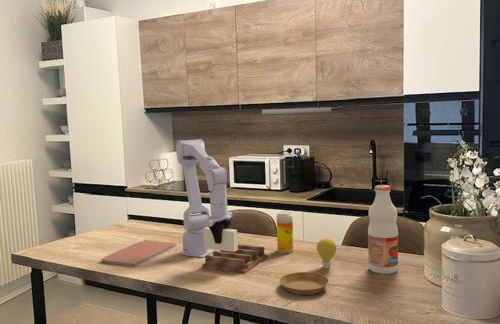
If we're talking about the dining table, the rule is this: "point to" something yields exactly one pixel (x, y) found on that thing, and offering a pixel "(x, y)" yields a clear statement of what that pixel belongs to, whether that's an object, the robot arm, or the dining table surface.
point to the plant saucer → (304, 283)
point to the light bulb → (326, 251)
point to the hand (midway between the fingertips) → (220, 242)
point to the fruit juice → (383, 233)
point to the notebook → (138, 253)
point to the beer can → (284, 232)
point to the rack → (236, 259)
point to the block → (227, 241)
